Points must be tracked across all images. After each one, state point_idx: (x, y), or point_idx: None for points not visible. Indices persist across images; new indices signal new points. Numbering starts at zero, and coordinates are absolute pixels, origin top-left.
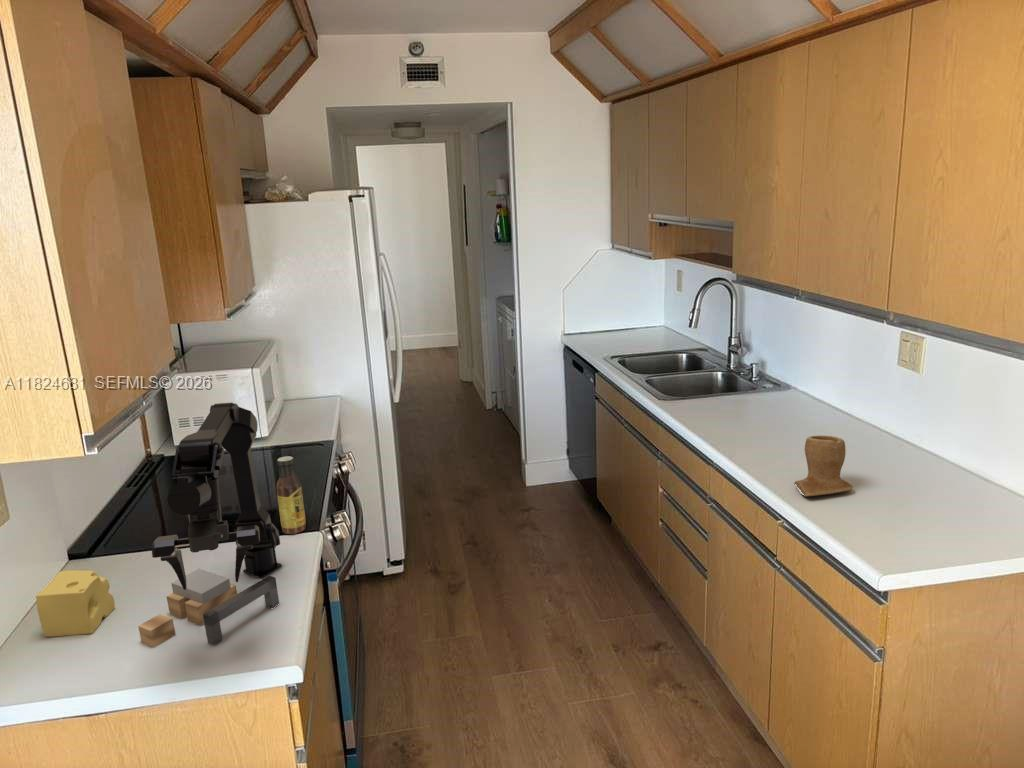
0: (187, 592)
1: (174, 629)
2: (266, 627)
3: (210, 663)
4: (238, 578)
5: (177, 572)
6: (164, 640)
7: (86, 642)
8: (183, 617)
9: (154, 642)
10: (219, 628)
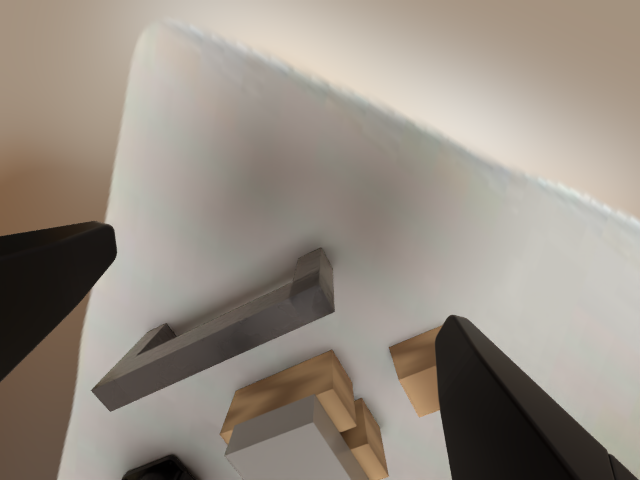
0: (344, 457)
1: (392, 356)
2: (190, 252)
3: (347, 172)
4: (67, 226)
5: (621, 475)
6: (417, 337)
7: None
8: (357, 401)
9: None
10: (298, 271)
